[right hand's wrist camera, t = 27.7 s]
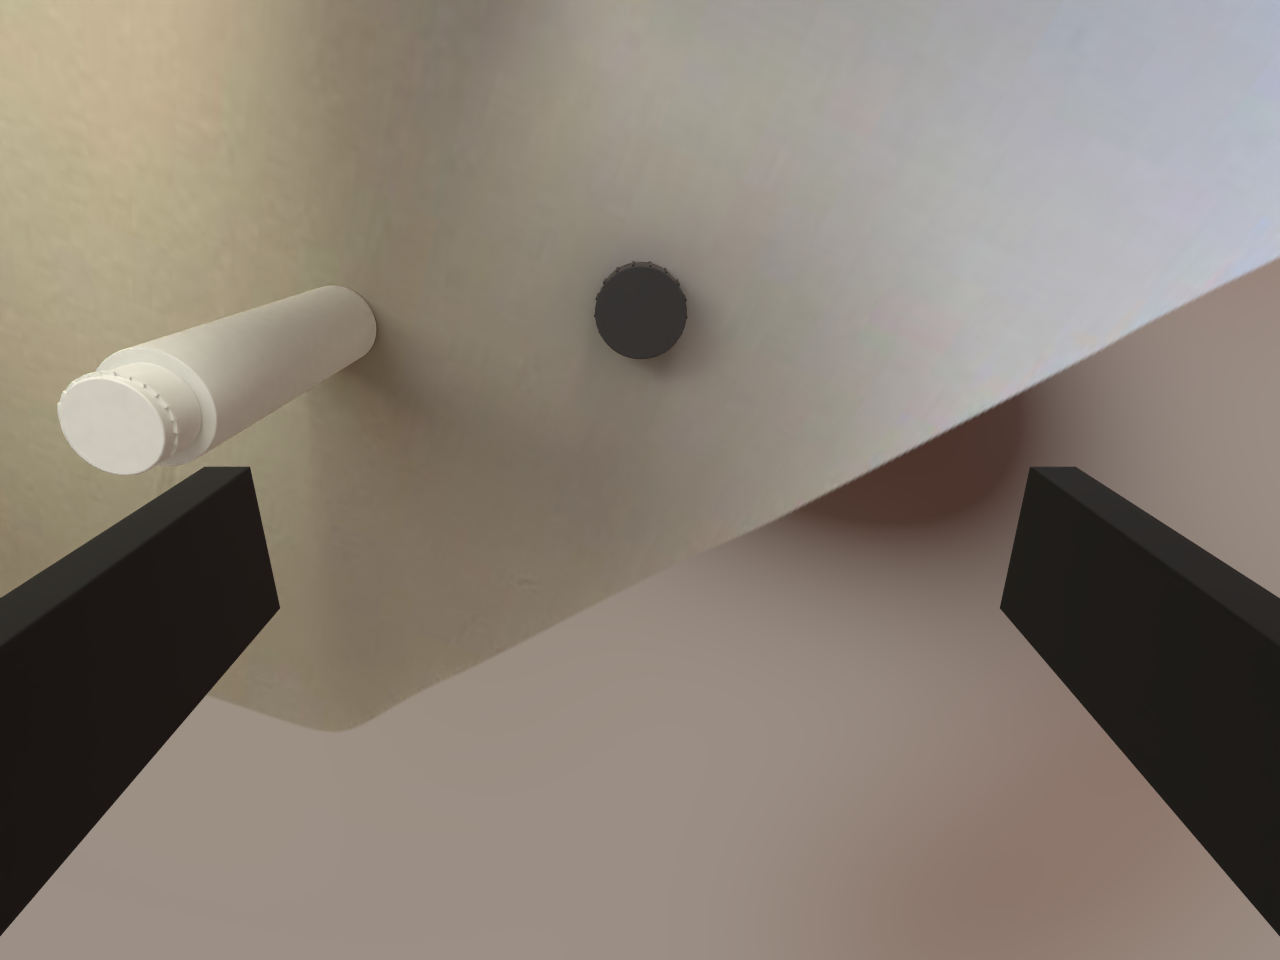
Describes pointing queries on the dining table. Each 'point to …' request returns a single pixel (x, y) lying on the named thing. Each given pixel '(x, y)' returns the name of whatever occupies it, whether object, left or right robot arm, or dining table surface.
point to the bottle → (211, 380)
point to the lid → (640, 310)
